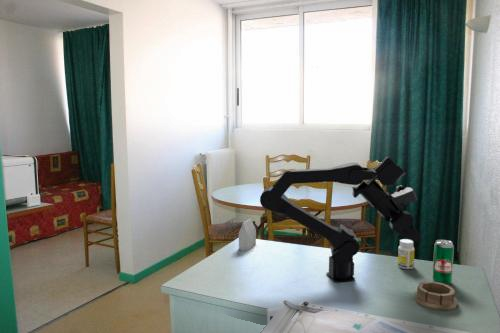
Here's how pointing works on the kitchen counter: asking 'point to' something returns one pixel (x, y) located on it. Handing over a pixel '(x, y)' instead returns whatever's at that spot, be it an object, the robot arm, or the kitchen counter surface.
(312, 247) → the kitchen counter surface
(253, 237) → the grey pointed block
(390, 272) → the kitchen counter surface
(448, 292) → the holder
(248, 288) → the kitchen counter surface
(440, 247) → the soda can
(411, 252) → the supplement bottle
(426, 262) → the kitchen counter surface
